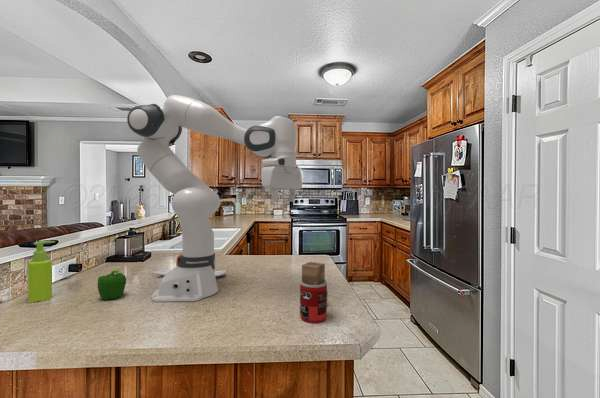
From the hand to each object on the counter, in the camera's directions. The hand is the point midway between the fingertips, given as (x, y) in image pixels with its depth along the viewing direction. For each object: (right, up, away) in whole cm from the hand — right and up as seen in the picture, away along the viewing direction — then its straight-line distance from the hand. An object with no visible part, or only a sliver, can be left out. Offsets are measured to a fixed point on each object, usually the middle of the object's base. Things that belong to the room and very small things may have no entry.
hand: (283, 201), depth 97 cm
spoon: (-43, -34, +26) cm, 61 cm away
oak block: (+12, -34, -6) cm, 37 cm away
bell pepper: (-61, -34, -1) cm, 69 cm away
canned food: (+10, -35, -16) cm, 39 cm away
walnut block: (+10, -23, -16) cm, 30 cm away
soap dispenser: (-84, -34, -2) cm, 91 cm away
